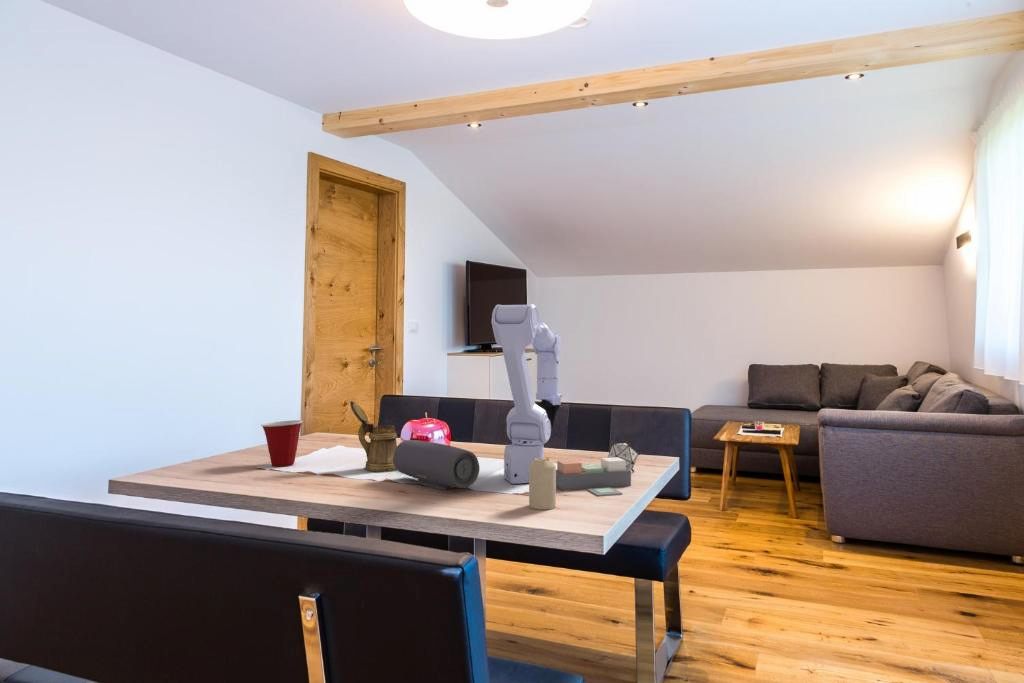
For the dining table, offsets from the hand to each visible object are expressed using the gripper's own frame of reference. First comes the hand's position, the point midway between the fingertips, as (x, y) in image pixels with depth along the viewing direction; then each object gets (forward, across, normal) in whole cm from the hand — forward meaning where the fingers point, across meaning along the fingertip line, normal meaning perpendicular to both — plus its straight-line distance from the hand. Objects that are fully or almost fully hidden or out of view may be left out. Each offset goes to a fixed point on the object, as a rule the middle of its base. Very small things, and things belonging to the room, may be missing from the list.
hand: (547, 429), depth 178 cm
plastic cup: (+10, +25, +68) cm, 73 cm away
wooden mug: (+10, +13, +44) cm, 47 cm away
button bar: (+10, -22, -3) cm, 24 cm away
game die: (+11, -10, -17) cm, 22 cm away
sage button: (+9, -22, -3) cm, 24 cm away
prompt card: (+10, -29, -3) cm, 31 cm away
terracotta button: (+7, -22, +2) cm, 23 cm away
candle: (+10, -37, +14) cm, 41 cm away
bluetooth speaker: (+10, -11, +32) cm, 36 cm away
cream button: (+8, -22, -9) cm, 25 cm away
